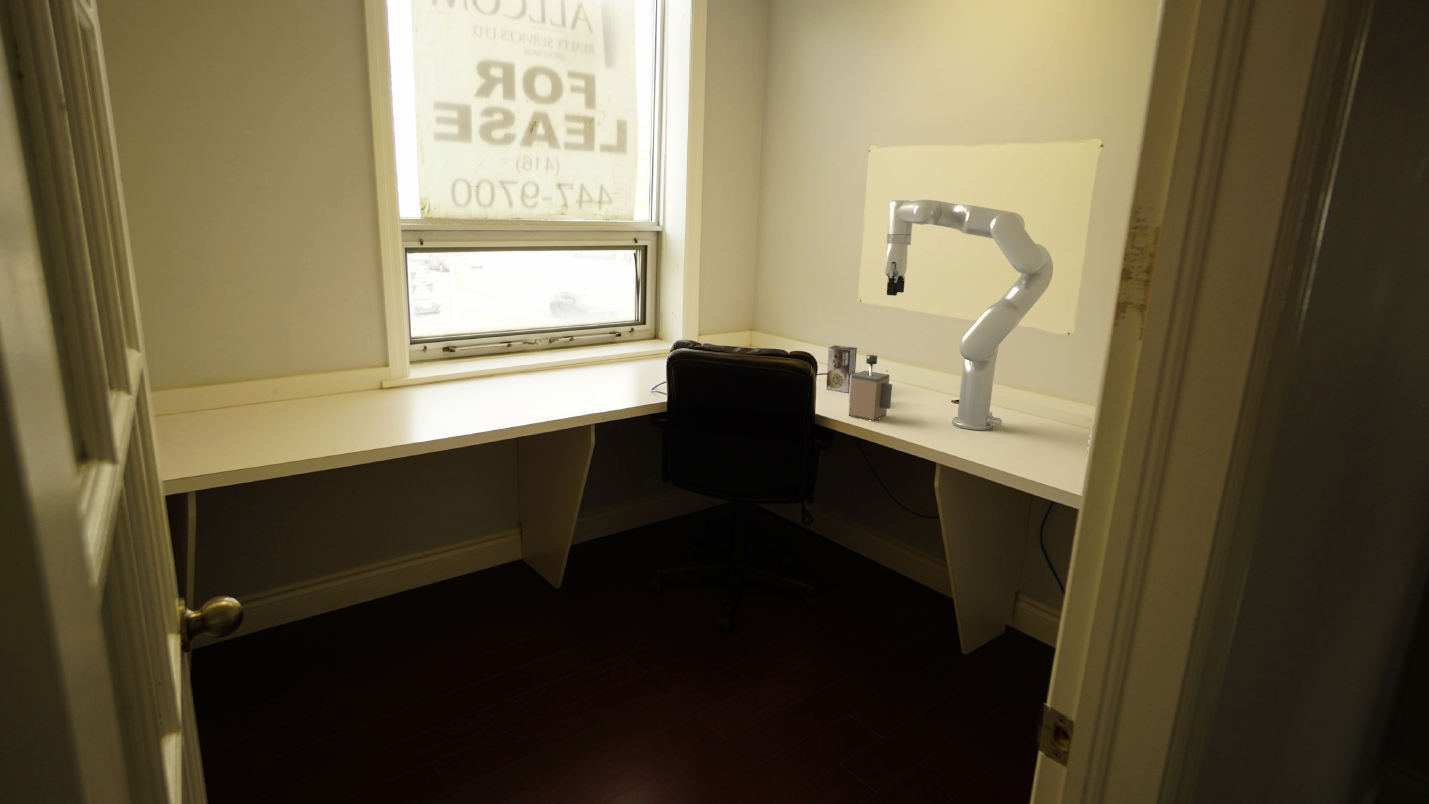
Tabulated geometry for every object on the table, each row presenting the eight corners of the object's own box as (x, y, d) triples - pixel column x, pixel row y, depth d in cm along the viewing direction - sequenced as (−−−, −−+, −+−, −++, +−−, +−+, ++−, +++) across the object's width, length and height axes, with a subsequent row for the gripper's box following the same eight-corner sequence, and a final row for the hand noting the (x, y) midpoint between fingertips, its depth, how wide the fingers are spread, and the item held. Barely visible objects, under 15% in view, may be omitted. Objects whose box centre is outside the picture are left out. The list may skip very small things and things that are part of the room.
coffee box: (854, 389, 290) (857, 347, 286) (848, 393, 284) (851, 350, 280) (832, 386, 294) (835, 344, 290) (825, 389, 289) (827, 347, 285)
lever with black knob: (880, 405, 254) (884, 355, 250) (872, 409, 250) (876, 358, 245) (864, 402, 258) (868, 353, 254) (855, 406, 253) (859, 355, 249)
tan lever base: (894, 417, 254) (897, 376, 250) (881, 423, 247) (885, 380, 243) (861, 410, 261) (864, 370, 257) (848, 416, 254) (851, 374, 250)
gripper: (893, 238, 256) (890, 290, 260) (880, 240, 241) (877, 295, 245) (916, 239, 253) (912, 291, 257) (904, 241, 237) (900, 297, 242)
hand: (895, 293), depth 251 cm, fingers open, 9 cm apart
